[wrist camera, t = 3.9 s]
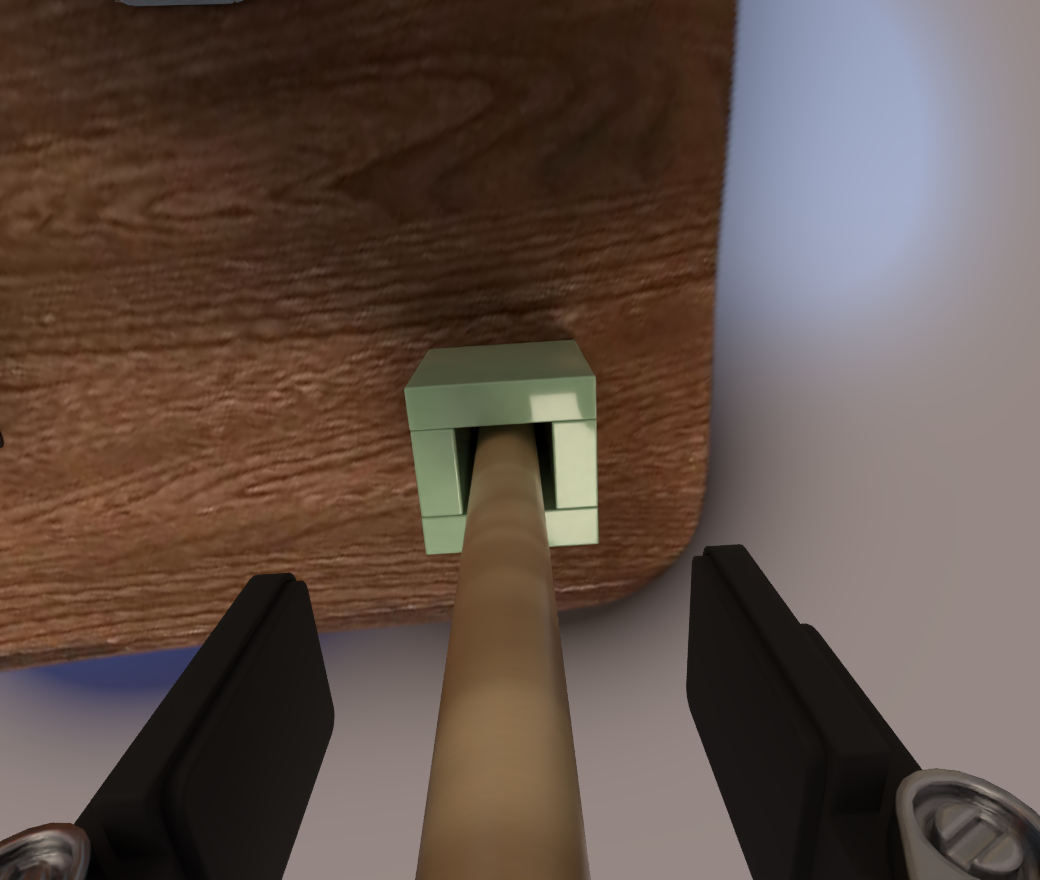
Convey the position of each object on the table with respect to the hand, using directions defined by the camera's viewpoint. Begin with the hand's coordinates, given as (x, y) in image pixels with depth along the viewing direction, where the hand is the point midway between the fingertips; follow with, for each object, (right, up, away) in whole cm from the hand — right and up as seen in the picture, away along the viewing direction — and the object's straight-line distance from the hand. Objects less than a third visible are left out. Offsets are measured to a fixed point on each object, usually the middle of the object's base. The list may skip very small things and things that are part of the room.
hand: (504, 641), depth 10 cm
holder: (0, +4, +11) cm, 12 cm away
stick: (0, +4, +11) cm, 12 cm away
